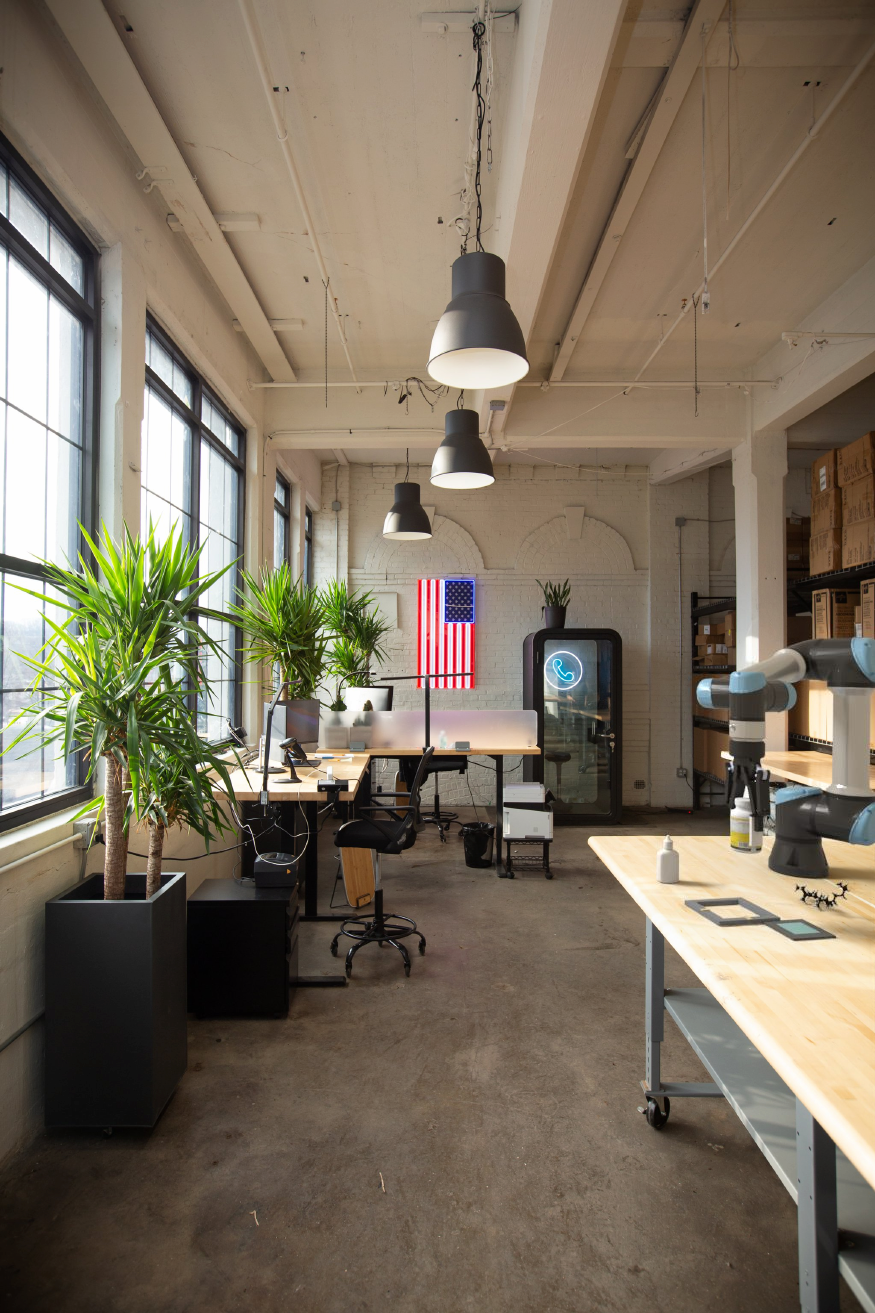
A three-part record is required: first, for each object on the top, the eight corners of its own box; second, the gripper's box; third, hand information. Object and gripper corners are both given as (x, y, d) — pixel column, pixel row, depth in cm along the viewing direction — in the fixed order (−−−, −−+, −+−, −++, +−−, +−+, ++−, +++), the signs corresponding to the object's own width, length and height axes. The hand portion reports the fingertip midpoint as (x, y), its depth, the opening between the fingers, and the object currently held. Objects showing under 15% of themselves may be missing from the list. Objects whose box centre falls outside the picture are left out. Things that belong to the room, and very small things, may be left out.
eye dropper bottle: (656, 878, 188) (656, 833, 188) (678, 880, 187) (678, 834, 187) (656, 882, 184) (657, 836, 184) (679, 885, 182) (680, 838, 183)
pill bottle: (758, 848, 162) (759, 797, 162) (764, 855, 155) (764, 803, 156) (728, 846, 163) (728, 796, 164) (732, 853, 157) (732, 801, 157)
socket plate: (741, 901, 170) (741, 896, 170) (781, 922, 156) (781, 917, 156) (684, 904, 167) (684, 899, 167) (720, 926, 153) (720, 921, 153)
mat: (802, 920, 157) (802, 918, 157) (836, 937, 147) (836, 935, 147) (762, 923, 155) (762, 921, 155) (793, 940, 146) (793, 938, 146)
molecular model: (803, 896, 175) (803, 863, 175) (856, 917, 160) (856, 880, 160) (783, 899, 173) (782, 865, 173) (834, 920, 158) (834, 883, 158)
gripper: (708, 735, 169) (707, 832, 168) (758, 744, 150) (757, 853, 149) (737, 735, 170) (736, 831, 170) (790, 744, 151) (789, 852, 151)
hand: (746, 841), depth 159 cm, fingers closed on pill bottle, 6 cm apart
